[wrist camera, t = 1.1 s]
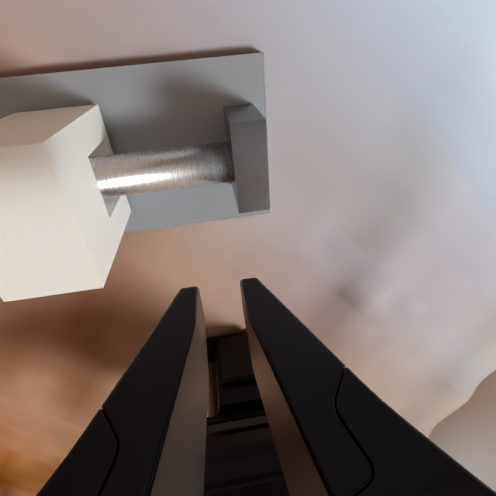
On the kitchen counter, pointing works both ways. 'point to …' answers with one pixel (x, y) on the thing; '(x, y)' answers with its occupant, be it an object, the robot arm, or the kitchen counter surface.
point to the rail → (197, 164)
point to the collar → (55, 204)
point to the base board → (155, 119)
